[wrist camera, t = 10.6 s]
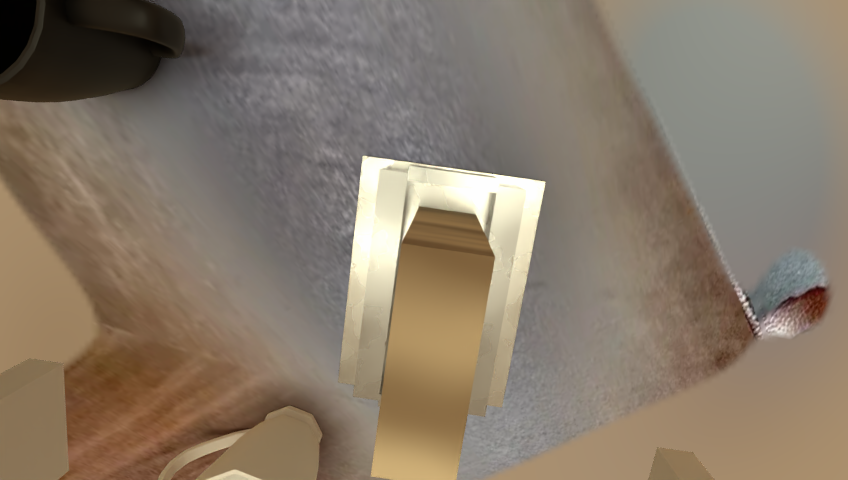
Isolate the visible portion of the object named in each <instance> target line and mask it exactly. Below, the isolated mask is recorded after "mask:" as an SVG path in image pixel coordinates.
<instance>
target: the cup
mask: <svg viewBox="0 0 848 480" xmlns="http://www.w3.org/2000/svg"><path fill="white" fill-rule="evenodd" d="M322 436H323V434H322V432H321V430H320V428H319V426H318V424H317V422H316V420H315V418H314V416H313V414H311V413H308V412H305V411H303V410H300V409H298V408H295V407H293V406H290V405H289V406H287V407H284V408H281V409H278V410H276V411H273V412H270V413H268V414H267V416H266V418H265V421H263V422H261V423H259V424H258V425H256V426H255V427H253V428H252V429H247V430H243V431H238V432H234V433H230V434H227V435H224V436H221V437H218V438H215V439H212V440H209V441H206V442H203V443H200V444H198V445H196V446H194V447H192V448H189V449H187V450H185V451H183V452H182V453H181V454H179V455H178V456H177V457H175V458H174V459H173V460H171V461H170V462H169V463H168V465H167V466H166V467H165V469H164V470H163V471H162V473H161V474H160V476H159V478H158V480H170V479H171V478H172V477H173V475H174V474H175V473H176V472H177V471H178V470H179V469H181V468H182V467H183V466H184V465H186V464H187V463H188V462H190V461H193V460H195V459H197V458H199V457H202V456H204V455H206V454H209V453H212V452H215V451H218V450H221V449H224V448H227V447H229V446H231V447H229V448H228V449H227V450H226V451H225V452H224V453H223V454H222V455H221V456H220V457H219V458H218V459H217V460H216V461H215V462H214V463H213V464H212V465H211V466H209V467H208V468H207V469H206V470H205V471H204V472H203V473H202V474H201V475H200V476H199V477H198V478H197V479H196V480H316V478H317V473H318V469H319V443H320V441H321V438H322Z"/></svg>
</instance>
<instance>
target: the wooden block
mask: <svg viewBox="0 0 848 480" xmlns="http://www.w3.org/2000/svg"><path fill="white" fill-rule="evenodd" d="M494 262H495V255H494V253H493V251H492V249H491V246H490V244H489V242H488V240H487V238H486V235H485V233H484V231H483V229H482V227H481V224H480V222H479V220H478V218H477V215H476V214H469V213H463V212H456V211H449V210H442V209H435V208H428V207H421V206H419V207H418V210H417V212H416V214H415V216H414V218H413V220H412V222H411V224H410V227H409V229H408V231H407V233H406V235H405V237H404V239H403V241H402V244H401V252H400V259H399V267H398V274H397V282H396V290H395V297H394V305H393V312H392V320H391V328H390V335H389V343H388V350H387V358H386V366H385V373H384V381H383V388H382V396H381V403H380V411H379V419H378V426H377V434H376V441H375V449H374V457H373V464H372V472H371V476H373V477H379V478H386V479H392V480H456V477H457V471H458V466H459V460H460V454H461V449H462V443H463V437H464V432H465V426H466V420H467V415H468V409H469V403H470V398H471V392H472V386H473V381H474V375H475V369H476V364H477V358H478V352H479V347H480V341H481V335H482V330H483V324H484V318H485V313H486V307H487V301H488V296H489V290H490V284H491V279H492V273H493V267H494Z"/></svg>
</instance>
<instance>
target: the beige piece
mask: <svg viewBox="0 0 848 480" xmlns="http://www.w3.org/2000/svg"><path fill="white" fill-rule="evenodd" d="M544 186H545V182H544V181H538V180H531V179H524V178H517V177H510V176H503V175H496V174H489V173H482V172H475V171H468V170H461V169H454V168H447V167H440V166H433V165H426V164H419V163H412V162H405V161H398V160H391V159H384V158H377V157H370V156H363V159H362V168H361V177H360V186H359V195H358V205H357V214H356V223H355V232H354V241H353V250H352V260H351V269H350V278H349V287H348V296H347V305H346V315H345V324H344V333H343V342H342V351H341V360H340V370H339V379H338V382H339V383H346V384H352V385H354V392H353V397H360V398H366V399H373V400H379V401H378V406H380V403H381V396H382V388H383V381H384V373H385V366H386V358H387V350H388V343H389V335H390V328H391V320H392V312H393V305H394V297H395V290H396V282H397V274H398V267H399V259H400V252H401V244H402V241H403V239H404V237H405V235H406V233H407V231H408V229H409V227H410V224H411V222H412V220H413V218H414V216H415V214H416V212H417V210H418V207H419V206H421V207H428V208H435V209H442V210H449V211H456V212H463V213H469V214H476V215H477V218H478V220H479V222H480V224H481V227H482V229H483V231H484V233H485V235H486V238H487V240H488V242H489V244H490V246H491V249H492V251H493V253H494V255H495V262H494V267H493V273H492V279H491V284H490V290H489V296H488V301H487V307H486V313H485V318H484V324H483V330H482V335H481V341H480V347H479V352H478V358H477V364H476V369H475V375H474V381H473V386H472V392H471V398H470V403H469V409H468V414H470V415H477V416H484V417H485V413H486V408H487V405H490V406H496V407H502V404H503V399H504V393H505V388H506V383H507V378H508V373H509V368H510V362H511V357H512V352H513V347H514V342H515V336H516V331H517V326H518V321H519V316H520V311H521V305H522V300H523V295H524V290H525V285H526V279H527V274H528V269H529V264H530V259H531V254H532V248H533V243H534V238H535V233H536V228H537V222H538V217H539V212H540V207H541V202H542V197H543V191H544Z"/></svg>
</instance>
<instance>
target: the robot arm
mask: <svg viewBox="0 0 848 480" xmlns="http://www.w3.org/2000/svg"><path fill="white" fill-rule="evenodd" d="M68 470H69V465H68V446H67V427H66V408H65V388H64V369H63V363H58V362H51V361H44V360H37V359H28V360H26V361H24V362H22V363H20V364H18V365H16V366H14V367H12V368H10V369H8V370H6V371H5V372H3V373H1V374H0V480H58V479H59V478H60V477H62V476H63V475H64V474H65V473H66V472H67V471H68ZM648 480H714V478H713V477H712V476H711V475H710V473H709V472H708V471H707V470H706V468H705V467H704V466H703V465H702V463H701V462H700V461H699V460H698V458H697V457H696V456H695V454H694V453H693V452H687V451H680V450H673V449H665V448H659V447H658V448H657V450H656V454H655V457H654V461H653V465H652V468H651V472H650V476H649V479H648Z"/></svg>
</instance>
